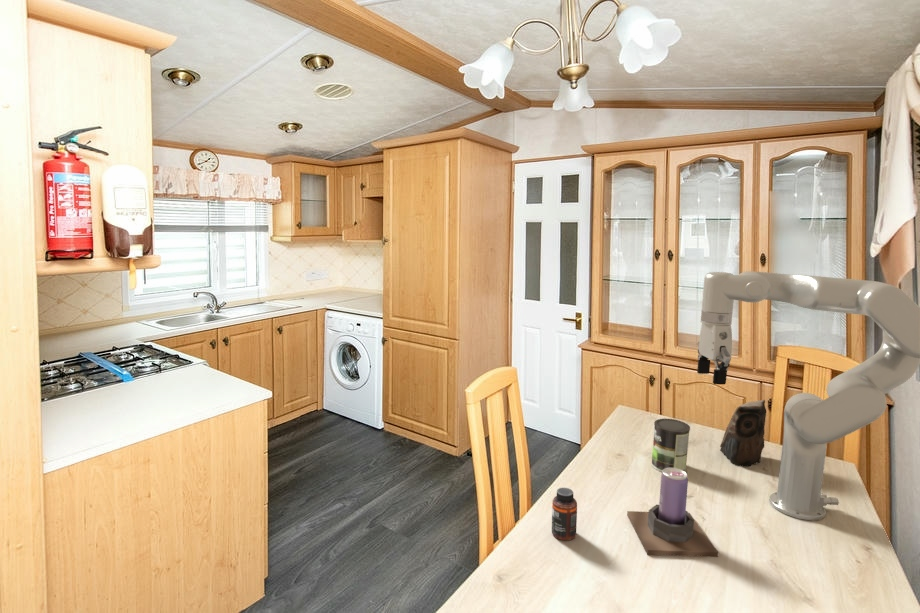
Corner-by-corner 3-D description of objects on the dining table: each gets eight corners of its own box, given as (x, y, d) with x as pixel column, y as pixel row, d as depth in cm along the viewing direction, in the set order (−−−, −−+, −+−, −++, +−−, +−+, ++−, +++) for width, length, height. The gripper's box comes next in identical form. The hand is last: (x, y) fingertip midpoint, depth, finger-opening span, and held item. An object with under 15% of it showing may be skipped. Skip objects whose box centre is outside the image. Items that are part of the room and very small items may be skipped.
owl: (761, 455, 167) (767, 397, 164) (770, 472, 156) (777, 410, 153) (719, 449, 172) (724, 393, 169) (724, 465, 160) (730, 405, 157)
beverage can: (686, 538, 120) (691, 480, 118) (659, 535, 121) (663, 477, 119) (681, 524, 126) (685, 468, 124) (655, 521, 127) (659, 465, 125)
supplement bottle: (577, 529, 125) (579, 487, 124) (574, 543, 120) (576, 499, 118) (553, 525, 127) (554, 483, 126) (549, 538, 122) (551, 495, 120)
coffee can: (655, 473, 154) (658, 430, 152) (648, 458, 164) (650, 417, 162) (691, 476, 153) (694, 432, 151) (681, 460, 163) (684, 419, 161)
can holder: (689, 517, 131) (690, 498, 130) (717, 556, 116) (719, 536, 115) (627, 515, 132) (628, 497, 131) (647, 554, 116) (648, 534, 115)
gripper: (747, 324, 128) (740, 388, 131) (715, 312, 145) (710, 370, 148) (717, 323, 128) (711, 388, 131) (689, 312, 145) (684, 369, 148)
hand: (710, 378), depth 140 cm, fingers open, 9 cm apart
